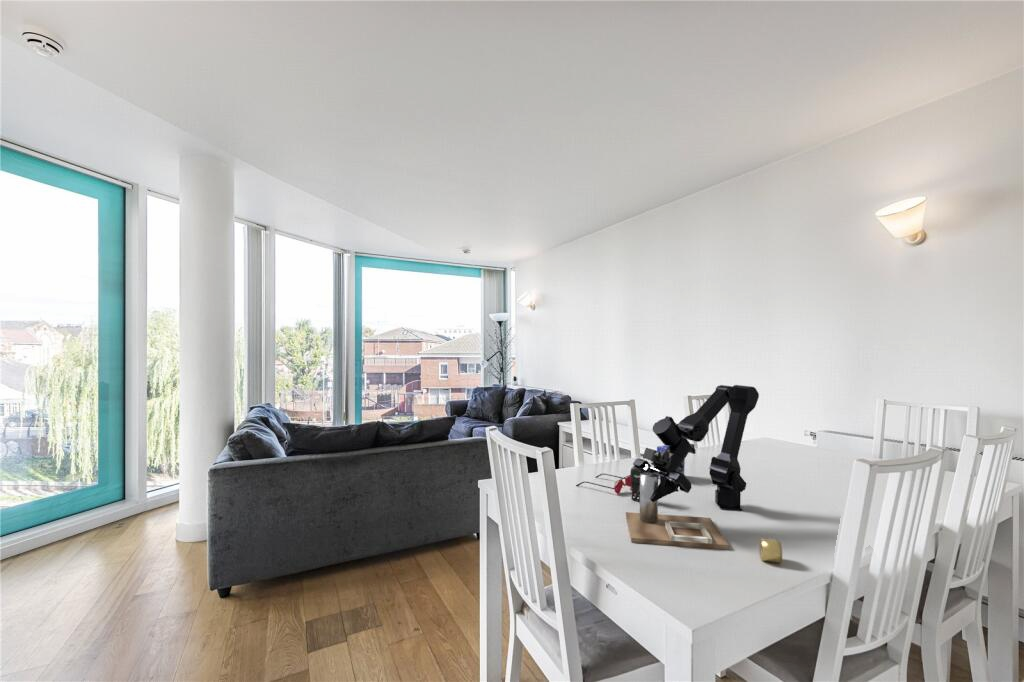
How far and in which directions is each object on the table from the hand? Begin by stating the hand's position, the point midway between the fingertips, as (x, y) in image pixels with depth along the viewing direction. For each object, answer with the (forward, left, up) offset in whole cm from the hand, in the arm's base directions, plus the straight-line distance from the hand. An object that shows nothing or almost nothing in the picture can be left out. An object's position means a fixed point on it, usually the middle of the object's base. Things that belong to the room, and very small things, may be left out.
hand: (645, 497), depth 131 cm
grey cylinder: (-1, -1, -7) cm, 7 cm away
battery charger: (-1, -20, -8) cm, 21 cm away
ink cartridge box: (-15, -48, -8) cm, 51 cm away
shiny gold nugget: (-25, +16, -5) cm, 31 cm away
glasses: (+10, -34, -8) cm, 36 cm away
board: (-7, +3, -8) cm, 11 cm away
